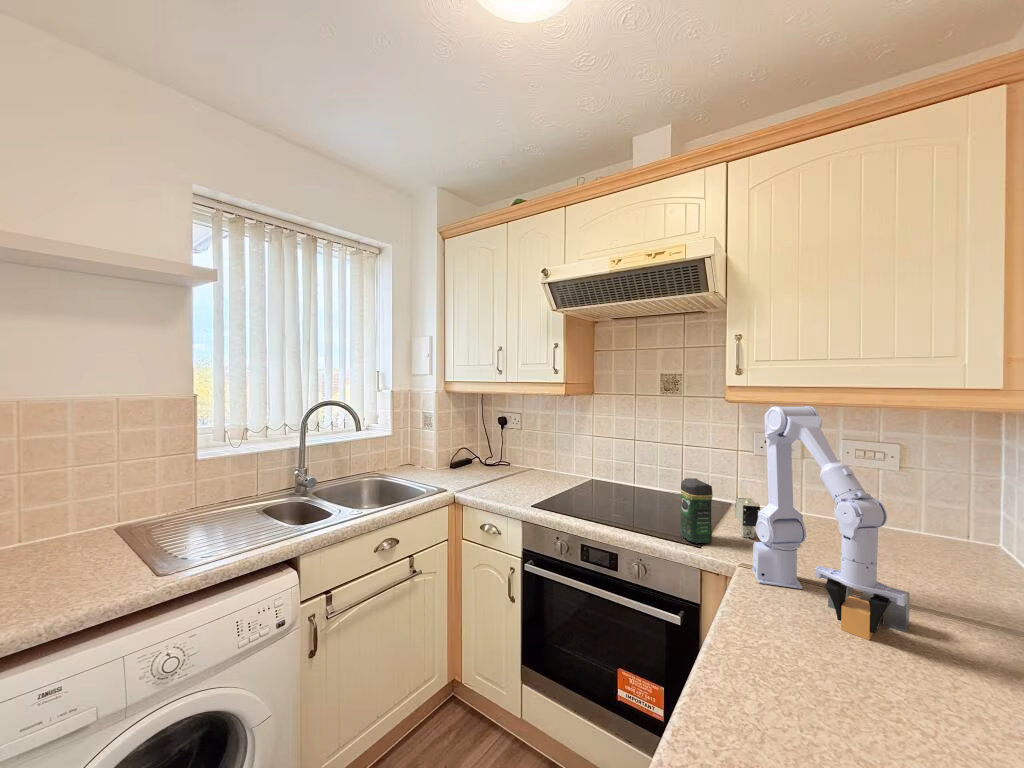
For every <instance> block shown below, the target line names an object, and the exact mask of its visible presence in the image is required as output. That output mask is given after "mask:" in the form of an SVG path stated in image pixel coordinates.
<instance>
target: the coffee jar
mask: <svg viewBox="0 0 1024 768" xmlns="http://www.w3.org/2000/svg"><path fill="white" fill-rule="evenodd" d="M680 485H681V486H680V496H681V505H680V506H681V509H680V527H679V533H680V534H679V535H680V536H681V535H682V536H683V537H684V538H683V537H682V536H681V537H682V538H683V539H685V538H686V539H687V540H689V541H692V542H695V543H694V544H698V543H707V544H710V543H711V542H712V541H713V534H712V533H713V531H712V530H713V529H712V528H713V527H712V503H713V502H712V500H713V487H712V485H710V484H708V483H706V482H704V481H702V480H700V479H698V478H695V477H692V478H684V479H683V480H681V484H680ZM686 539H685V540H686ZM687 540H686V541H687ZM689 541H688V542H689Z"/></svg>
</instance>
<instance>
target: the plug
mask: <svg viewBox="0 0 1024 768" xmlns="http://www.w3.org/2000/svg"><path fill="white" fill-rule="evenodd" d="M873 596H874V595H872V594H869V593H866V592H863V591H862V594H861V595H860V596H859V598H858V597H855V596H853V595H852V596H849V597H848V598H847V599H846V600H845V602H844V603H843V604H842V609H841V621H840V622H841V623H840V630H841V631H842V632H846V633H848V634H851V635H854V636H857V637H859V638H862V639H865V640H868V641H870V640H871V638H872V636H873V633H871V632H870V605H869V599H870V598H871V597H873Z"/></svg>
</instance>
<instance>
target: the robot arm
mask: <svg viewBox="0 0 1024 768" xmlns="http://www.w3.org/2000/svg"><path fill="white" fill-rule="evenodd" d="M822 427H823V419H822V418H821V416H819V412H818V411H817V409H815V407H813V406H810V405H806V406H771V407H770V408H769V409H768V410H767V411H766V413H765V414H764V436H765V438H766V464H767V467H766V471H767V472H766V473H767V496H768V497H767V499H768V500H767V501H768V503H767V505H765V506H764V507H762V508H761V509H760V511H759V512H758V521H757V523H756V527H755V533H756V535H757V537H758V540H760V541H754V542H753V546H752V569H751V570H752V572H753V575H754V576H755V579H756V581H757V582H758V583H759V584H764V585H772V586H779V587H784V588H785V587H786V588H792V589H800V590H801V589H803V585H802V584H801V582H800V581H799V580H798V578H797V577H798V549H799V548H801V544H803V543H804V542H805V541H806V539H807V530H806V527H805V523H804V517H803V514H802V513H801V512H799V510H797V509H796V508H795V507H794V489H793V485H794V484H793V462H792V461H793V458H792V456H793V455H792V444H793V443H795V441H797V440H798V441H801V443H802V444H803V445H804V446H805V449H807V451H808V452H809V453H810V456H812V458H813V459H814V460H815V461H816V463H817V464H818V466H819V467H820V468H821V470H820V473H819V478H820V480H821V481H822V483H823V485H824V487H825V488H826V490H827V492H828V494H829V495H830V497H831V499H832V500H833V502H834V503H835V506H836V507H835V508H833V511H834V512H833V513H834V516H835V519H836V521H837V522H838V530H839V533H840V534H841V540H840V541H841V546H840V548H841V549H840V550H841V551H840V569H839V570H838V569H834V568H828V567H825V566H822V565H818V566H816V567H815V568H814V577H815V578H818V579H825V580H826V583H825V584H824V587H825V590H826V592H827V594H828V593H829V595H830V597H831V599H832V602H833V604H834V607H835V609H834V611H835V613H836V619H837V620H838V621H839V622H841V609H842V604H843V603H844V602H845V598H846V590H847V586H848V587H851V588H852V589H854V590H856V591H857V590H858V591H859V592H862V593H863V592H866V593H869V594H872V595H874V596H873V597H871V598H870V599H869V605H870V632H871V633H873V634H874V635H875V634H876V633H878V629H879V625H880V622H881V620H882V618H883V613H884V612H885V610H886V608H887V607H888V605H889V604H890V603H891V602H892V601H893V602H896V603H897V604H898V605H901V606H905V605H906V603H907V593H904V592H901V591H899V590H900V589H899V590H896V589H897V588H895V589H894V587H892V586H889V585H887V584H884V583H882V582H879V581H878V555H879V553H878V552H879V551H878V550H879V528H882V527H883V526H884V525H886V522H887V520H888V516H887V515H888V514H887V511H886V509H885V507H884V504H883V503H882V501H880V500H879V499H877V498H875V497H874V496H872V495H871V494H870V493H868V492H867V491H865V489H864V488H863V486H862V485H861V483H860V481H859V480H858V478H857V477H856V476H855V474H854V472H853V469H851V468H850V467H849V466H848V465H846V464H844V463H840V462H839V461H838V458H837V457H836V455H835V453H834V451H833V448H832V447H831V446H830V444H829V442H828V440H827V438H826V436H825V434H824V433H823V431H822ZM891 587H892V588H891ZM873 634H872V635H873Z"/></svg>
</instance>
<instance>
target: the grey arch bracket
mask: <svg viewBox="0 0 1024 768" xmlns="http://www.w3.org/2000/svg"><path fill="white" fill-rule="evenodd" d="M890 587H891V588H894V587H892V586H890ZM894 589H896V590H899V591H901V592H904V593H907V603H906V605H905V606H901V605H898V604H897V603H896V602H893V601H892V602H891V603H890V604H889V605H888V607H887V608H886V610H885V612H884V613H883V615H882V618H883V619H882V625H883V626H884V627H888V628H891V629H894V630H897V631H900V632H903V633H907V631H908V629H909V626H910V603H911V601H910V599H911V598H910V596H911V595H910V594H911V593H910V592H909V591H906V590H901V589H899V588H894ZM827 596H828V598H827V607H828V608H832V609H834V610H835V607H834V604H833V602H832V599H831V597H830V595H829V593H828V592H827ZM849 596H852V597H853V588H851V587H848V586H847V590H846V598H845V600H846V599H847V598H848V597H849Z"/></svg>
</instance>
